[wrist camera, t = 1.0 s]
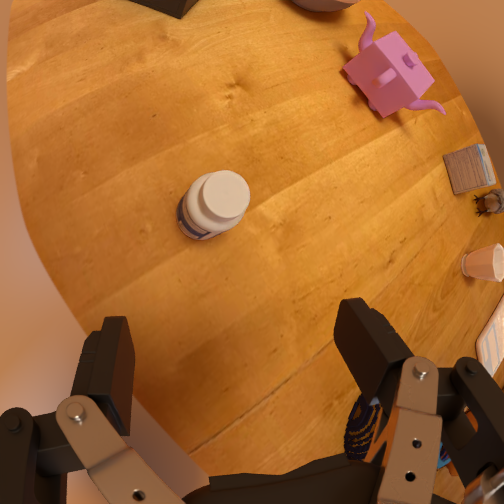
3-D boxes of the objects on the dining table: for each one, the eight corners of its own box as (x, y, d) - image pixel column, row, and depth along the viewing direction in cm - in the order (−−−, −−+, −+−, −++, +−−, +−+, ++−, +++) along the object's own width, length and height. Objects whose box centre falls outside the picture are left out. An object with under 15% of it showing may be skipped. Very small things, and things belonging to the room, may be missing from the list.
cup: (456, 247, 52) (491, 243, 44) (478, 246, 56) (510, 242, 48) (458, 285, 51) (493, 284, 44) (480, 280, 55) (512, 278, 48)
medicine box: (462, 192, 54) (497, 184, 46) (453, 195, 53) (489, 186, 45) (452, 154, 54) (485, 143, 46) (441, 155, 53) (476, 143, 45)
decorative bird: (500, 210, 62) (524, 206, 55) (475, 219, 56) (504, 214, 49) (495, 189, 62) (519, 183, 55) (469, 194, 56) (498, 187, 49)
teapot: (396, 75, 50) (436, 50, 40) (405, 134, 49) (452, 113, 39) (330, 41, 45) (369, 6, 35) (334, 103, 43) (382, 68, 33)
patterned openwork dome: (377, 344, 43) (460, 359, 29) (443, 371, 49) (508, 384, 35) (323, 469, 38) (389, 516, 25) (401, 470, 44) (459, 498, 31)
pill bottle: (221, 190, 36) (254, 161, 27) (226, 238, 36) (262, 224, 27) (173, 192, 34) (191, 161, 25) (177, 242, 34) (197, 229, 25)
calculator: (512, 331, 62) (517, 332, 60) (481, 386, 55) (487, 387, 53) (505, 289, 60) (511, 289, 59) (473, 342, 53) (481, 343, 51)
